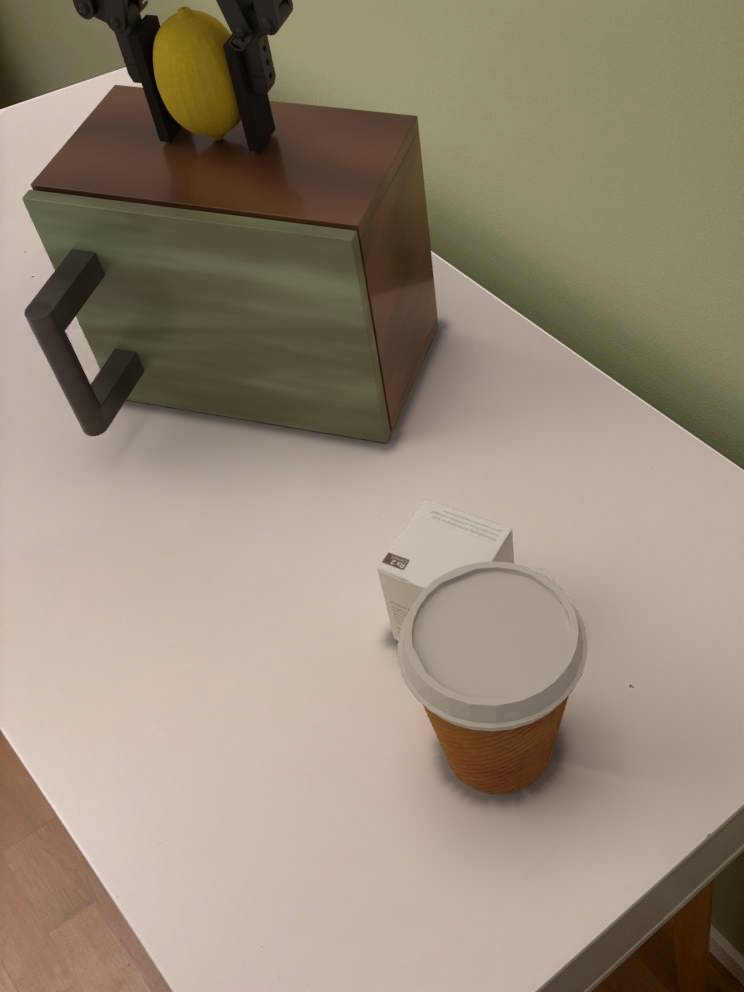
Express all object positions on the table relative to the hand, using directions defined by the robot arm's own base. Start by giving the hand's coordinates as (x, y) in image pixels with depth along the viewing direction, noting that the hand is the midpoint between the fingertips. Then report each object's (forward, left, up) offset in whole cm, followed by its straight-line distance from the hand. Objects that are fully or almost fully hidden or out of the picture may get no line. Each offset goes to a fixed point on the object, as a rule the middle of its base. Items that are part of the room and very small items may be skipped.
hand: (217, 134), depth 67 cm
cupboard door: (+1, -11, -17) cm, 20 cm away
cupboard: (+1, -1, -17) cm, 17 cm away
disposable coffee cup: (+26, -30, -18) cm, 43 cm away
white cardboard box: (+21, -22, -18) cm, 35 cm away
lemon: (0, 0, -1) cm, 1 cm away
